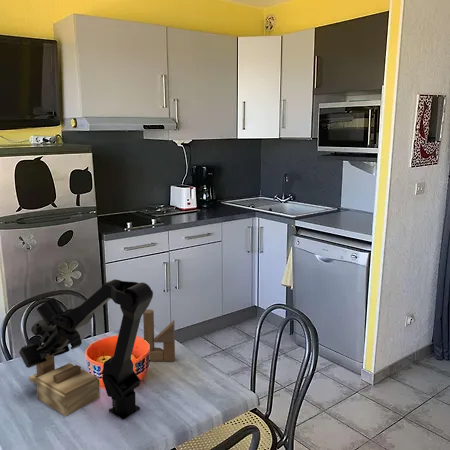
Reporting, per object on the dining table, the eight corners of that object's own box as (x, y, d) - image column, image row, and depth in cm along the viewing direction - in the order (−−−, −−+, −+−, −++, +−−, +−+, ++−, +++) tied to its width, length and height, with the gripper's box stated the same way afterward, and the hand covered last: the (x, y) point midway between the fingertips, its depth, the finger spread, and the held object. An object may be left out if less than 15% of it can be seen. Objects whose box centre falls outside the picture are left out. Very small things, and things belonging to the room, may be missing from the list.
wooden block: (173, 362, 162) (173, 313, 158) (143, 361, 162) (141, 312, 159) (175, 356, 166) (174, 309, 162) (144, 356, 166) (143, 308, 162)
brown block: (55, 378, 150) (53, 346, 148) (44, 383, 147) (41, 351, 145) (48, 374, 153) (46, 343, 151) (37, 379, 150) (34, 347, 147)
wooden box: (100, 397, 140) (99, 379, 139) (65, 416, 131) (64, 397, 130) (50, 370, 155) (49, 353, 154) (16, 385, 146) (15, 368, 145)
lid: (97, 379, 139) (97, 371, 138) (65, 396, 130) (65, 386, 129) (69, 365, 147) (69, 357, 146) (37, 379, 138) (36, 371, 138)
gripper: (74, 304, 150) (56, 328, 159) (19, 323, 136) (3, 347, 144) (91, 334, 147) (72, 356, 156) (36, 356, 133) (19, 379, 141)
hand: (42, 358), depth 150 cm, fingers closed on brown block, 4 cm apart
